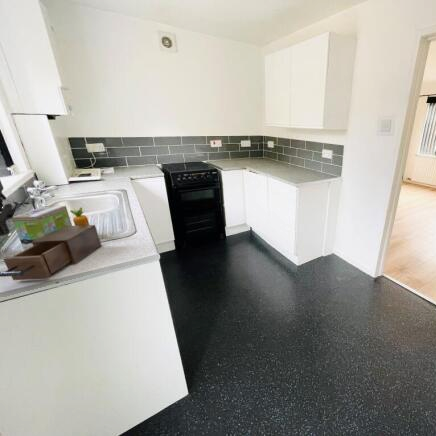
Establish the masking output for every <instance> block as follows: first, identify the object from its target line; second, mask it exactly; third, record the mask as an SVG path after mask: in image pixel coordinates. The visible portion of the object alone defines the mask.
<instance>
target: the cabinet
mask: <svg viewBox="0 0 436 436" xmlns="http://www.w3.org/2000/svg"><path fill="white" fill-rule="evenodd" d="M59 242H65V243H66V246H67V249H68V251H69V254H70V257H71V260H72V261H70V262H69V263H67V264H66V265H77V264H78V263H79V262H81V261H82V260H83V259H85V258H87V257H88V256H89V255H91V254H93V253H94V252H95V251H97V250H98V249H100V248H101V247H102V244H101V243H102V242H101V240H100V236H99V233H98V229H97V227H96V225H95V224H89V225H82V226H75V225H72V226H64V227H62V228H60V229H58V230H55V231H53V232H51V233H49V234H47V235H45V236H43V237H40V238H38V239H36V240H34V241H32V244H33V246H34V245H36V244H38V243H59Z"/></svg>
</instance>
